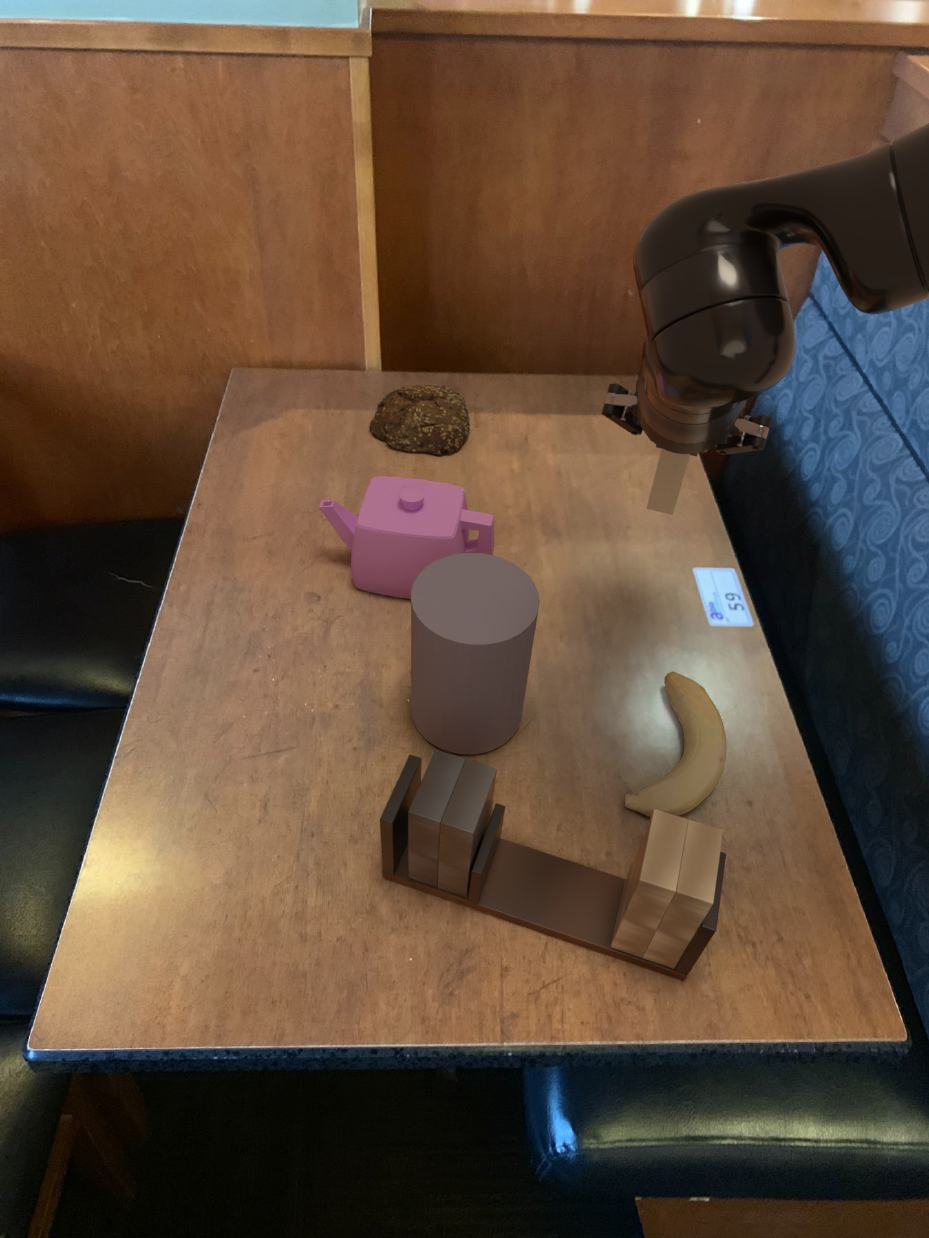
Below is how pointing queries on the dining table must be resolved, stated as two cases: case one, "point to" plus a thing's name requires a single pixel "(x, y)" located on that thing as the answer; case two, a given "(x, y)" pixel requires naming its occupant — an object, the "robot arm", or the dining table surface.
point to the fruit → (687, 753)
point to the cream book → (667, 481)
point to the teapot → (406, 531)
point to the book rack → (553, 870)
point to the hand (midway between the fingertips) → (678, 440)
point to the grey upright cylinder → (471, 650)
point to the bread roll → (422, 419)
